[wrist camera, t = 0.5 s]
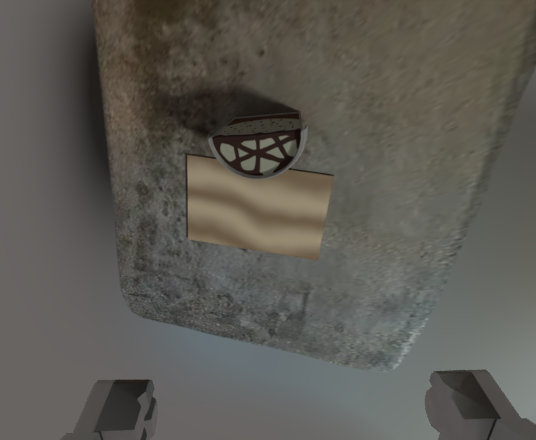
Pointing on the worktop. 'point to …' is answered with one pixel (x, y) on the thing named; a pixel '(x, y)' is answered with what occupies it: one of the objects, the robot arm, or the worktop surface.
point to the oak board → (257, 208)
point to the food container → (260, 144)
